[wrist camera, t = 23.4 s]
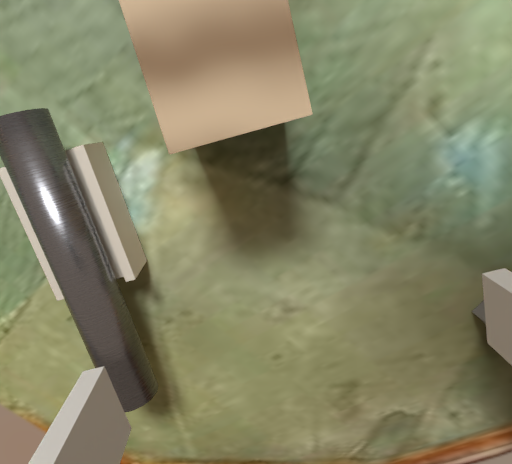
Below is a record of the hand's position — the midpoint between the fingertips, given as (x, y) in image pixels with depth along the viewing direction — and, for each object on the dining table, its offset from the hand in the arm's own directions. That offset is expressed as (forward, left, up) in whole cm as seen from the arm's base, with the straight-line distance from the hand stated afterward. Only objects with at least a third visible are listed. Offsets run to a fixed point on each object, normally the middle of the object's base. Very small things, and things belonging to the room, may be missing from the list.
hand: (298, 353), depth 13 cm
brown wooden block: (-12, 0, -23) cm, 26 cm away
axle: (0, -14, -20) cm, 24 cm away
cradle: (-4, -14, -23) cm, 27 cm away
